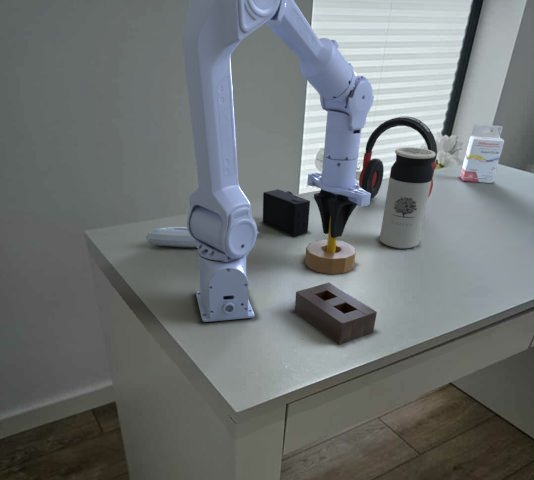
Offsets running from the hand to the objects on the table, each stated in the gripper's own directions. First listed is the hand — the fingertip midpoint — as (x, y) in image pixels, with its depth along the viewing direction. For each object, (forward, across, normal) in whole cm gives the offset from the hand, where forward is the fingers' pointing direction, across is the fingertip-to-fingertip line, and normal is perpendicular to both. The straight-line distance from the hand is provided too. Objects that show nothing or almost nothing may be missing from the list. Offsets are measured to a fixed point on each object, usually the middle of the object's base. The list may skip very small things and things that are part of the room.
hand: (332, 234), depth 90 cm
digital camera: (+6, +20, -4) cm, 21 cm away
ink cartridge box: (+6, +25, -76) cm, 81 cm away
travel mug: (+6, +1, -20) cm, 21 cm away
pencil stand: (+6, -17, +13) cm, 22 cm away
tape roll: (+6, 0, 0) cm, 6 cm away
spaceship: (+6, +22, +16) cm, 27 cm away
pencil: (+5, 0, 0) cm, 5 cm away
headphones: (+6, +21, -38) cm, 44 cm away
